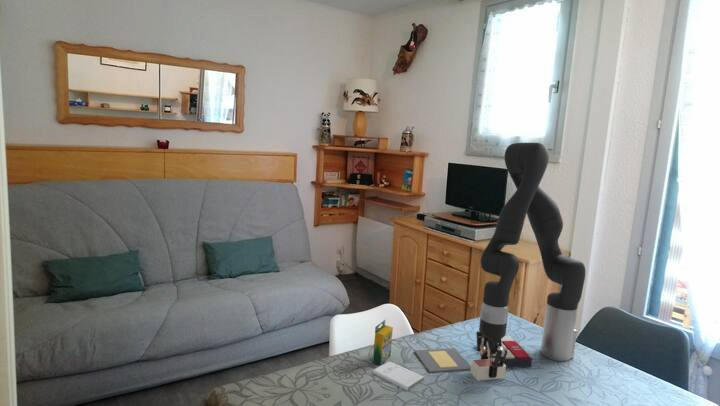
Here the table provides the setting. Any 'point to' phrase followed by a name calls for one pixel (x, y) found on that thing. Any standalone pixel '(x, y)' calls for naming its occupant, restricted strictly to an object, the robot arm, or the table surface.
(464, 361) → the rubber mat
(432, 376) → the table surface
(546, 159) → the robot arm
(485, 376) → the card deck
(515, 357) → the calculator
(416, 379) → the external hard drive
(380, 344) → the crayon box
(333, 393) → the table surface
